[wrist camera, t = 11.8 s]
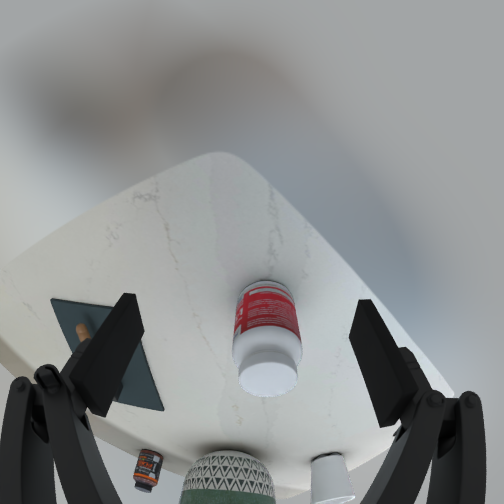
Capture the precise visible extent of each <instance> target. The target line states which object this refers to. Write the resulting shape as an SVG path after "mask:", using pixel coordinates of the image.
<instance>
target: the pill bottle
mask: <svg viewBox="0 0 504 504" xmlns="http://www.w3.org/2000/svg"><path fill="white" fill-rule="evenodd" d="M232 356H233V360H234V363H235V365H236V366H237V368H238V369H239V384H240V386H241V387H242V389H244V390H245V391H246V392H248V393H250V394H252V395H255V396H260V397H275V396H279V395H283V394H285V393H287V392H289V391H290V390H291V389H293V388H294V386H295V385H296V383H297V380H298V375H297V366H298V364H299V363H300V361H301V358H302V343H301V337H300V332H299V327H298V321H297V316H296V310H295V305H294V300H293V297H292V295H291V293H290V292H289V290H288V289H287V288H286V287H284V286H283V285H281V284H279V283H276V282H272V281H260V282H256V283H253V284H251V285H249V286H248V287H246V288H245V289H244V290H243V291H242V293H241V294H240V296H239V298H238V302H237V309H236V318H235V327H234V337H233V346H232Z"/></svg>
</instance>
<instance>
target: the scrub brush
mask: <svg viewBox="0 0 504 504" xmlns="http://www.w3.org/2000/svg"><path fill="white" fill-rule="evenodd" d="M76 332H77V334H78V336H79V339H80V341H81V342H82V341H83V340H85V339H86V338H90V339H91V337H90V334H89V332H88V329H87V327H86V325H85V324H83V323H79V324H78V325H77V326H76ZM122 389H123V385H122V383H120V385H119V387H118V389H117V392H116V394H115V396H114V398H113V401H118V399H119V397H120V394H121V392H122Z"/></svg>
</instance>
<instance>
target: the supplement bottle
mask: <svg viewBox="0 0 504 504" xmlns="http://www.w3.org/2000/svg"><path fill="white" fill-rule="evenodd" d="M162 462H163V457H162V456H161V455H159V454H158V453H156V452H153V451H150V450H141V452H140V455H139V457H138V461H137V465H136V468H135V472H134V475H133V478H134V480H135V481H136V483H135V488H136V489H138V490H140V491H143V492H148V493H151V490H152V487H154V486H156V485H157V483H158V479H159V474H160V470H161V466H162Z"/></svg>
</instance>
